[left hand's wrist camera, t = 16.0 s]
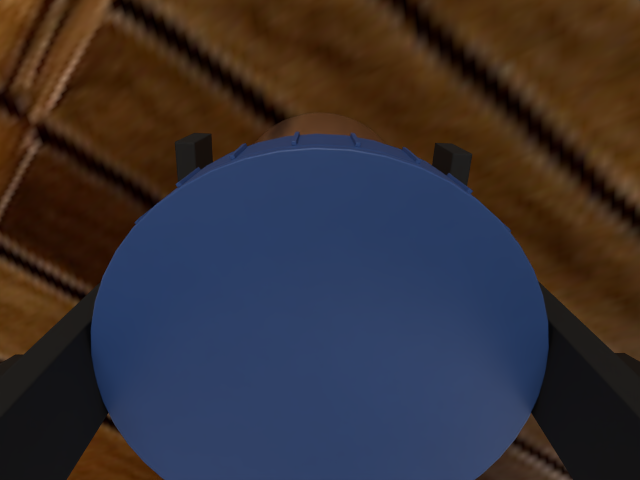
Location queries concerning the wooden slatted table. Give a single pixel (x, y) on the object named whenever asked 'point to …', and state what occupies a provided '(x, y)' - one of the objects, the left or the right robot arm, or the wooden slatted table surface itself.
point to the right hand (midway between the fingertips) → (323, 142)
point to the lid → (319, 321)
